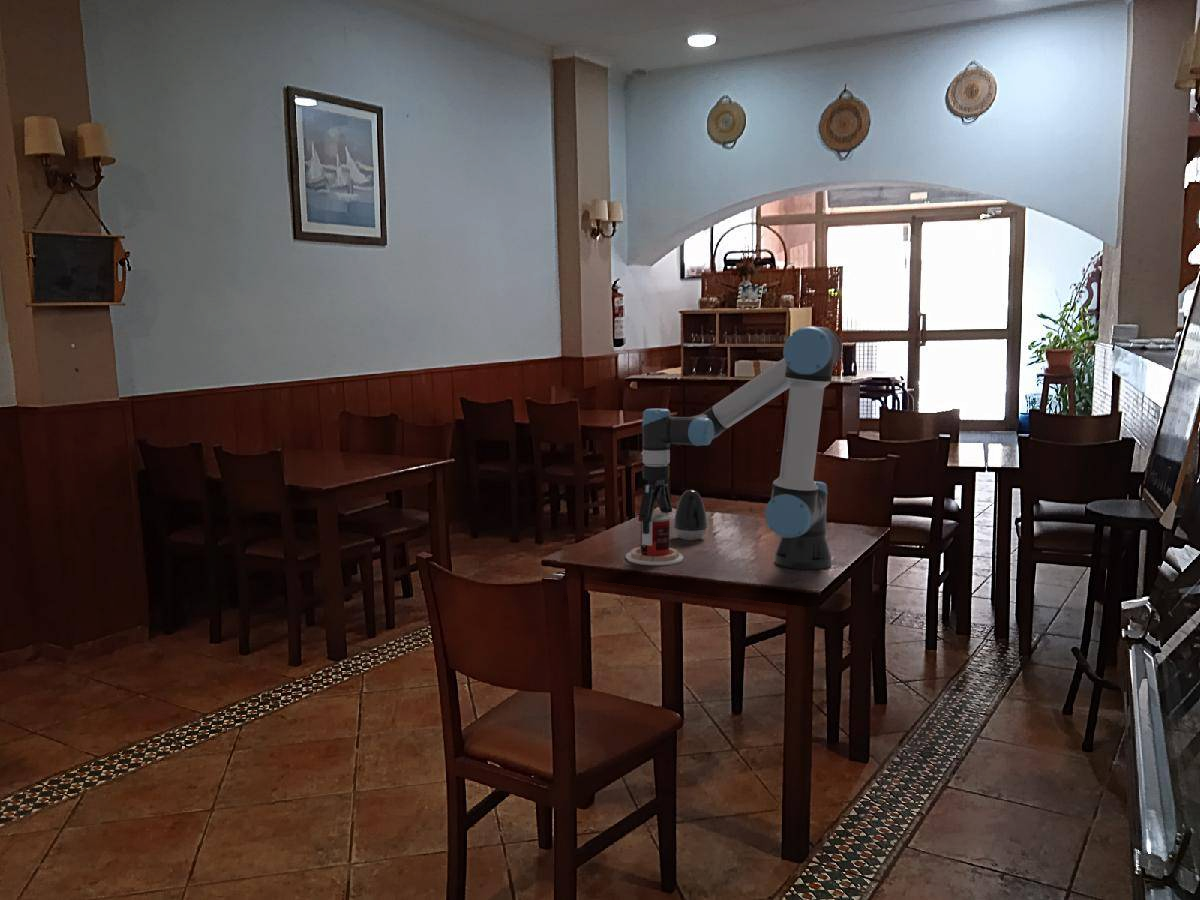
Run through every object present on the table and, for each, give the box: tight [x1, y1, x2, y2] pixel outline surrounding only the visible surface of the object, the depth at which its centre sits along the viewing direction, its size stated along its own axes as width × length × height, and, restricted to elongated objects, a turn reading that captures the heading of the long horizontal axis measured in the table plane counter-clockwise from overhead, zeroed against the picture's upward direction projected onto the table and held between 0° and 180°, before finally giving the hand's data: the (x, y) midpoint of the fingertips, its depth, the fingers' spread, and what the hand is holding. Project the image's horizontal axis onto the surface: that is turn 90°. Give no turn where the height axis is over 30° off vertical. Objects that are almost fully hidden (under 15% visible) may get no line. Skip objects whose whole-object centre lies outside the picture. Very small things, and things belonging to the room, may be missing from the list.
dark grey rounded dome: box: [673, 489, 708, 541], centre depth 292 cm, size 10×10×15 cm
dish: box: [625, 546, 684, 567], centre depth 267 cm, size 16×16×2 cm
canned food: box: [640, 514, 671, 556], centre depth 267 cm, size 8×8×11 cm
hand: (655, 540), depth 267 cm, fingers open, 13 cm apart
